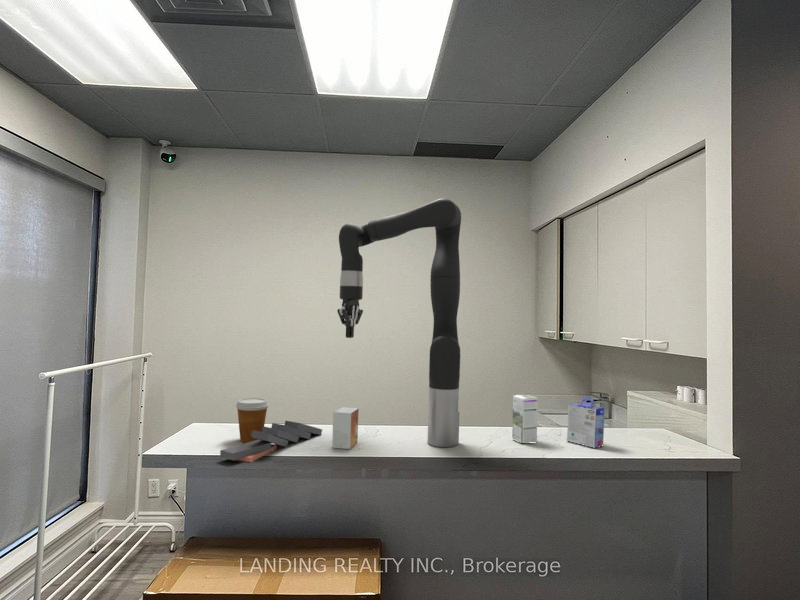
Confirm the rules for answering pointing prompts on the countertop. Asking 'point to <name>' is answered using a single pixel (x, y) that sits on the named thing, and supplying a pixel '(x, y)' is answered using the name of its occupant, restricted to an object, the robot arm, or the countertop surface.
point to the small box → (345, 428)
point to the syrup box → (524, 418)
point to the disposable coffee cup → (251, 417)
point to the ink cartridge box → (585, 423)
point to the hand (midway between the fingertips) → (349, 337)
